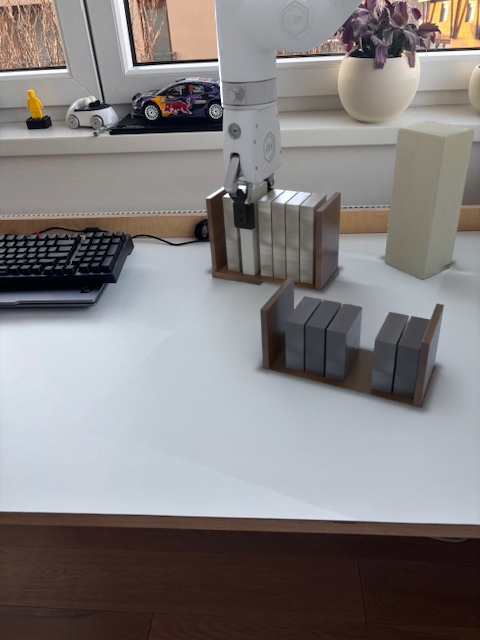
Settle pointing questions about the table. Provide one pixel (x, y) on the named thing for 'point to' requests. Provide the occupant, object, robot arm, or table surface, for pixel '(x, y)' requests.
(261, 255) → the brown rack
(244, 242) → the white book
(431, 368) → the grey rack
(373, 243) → the table surface
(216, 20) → the robot arm
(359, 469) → the table surface
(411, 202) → the tall beige block
